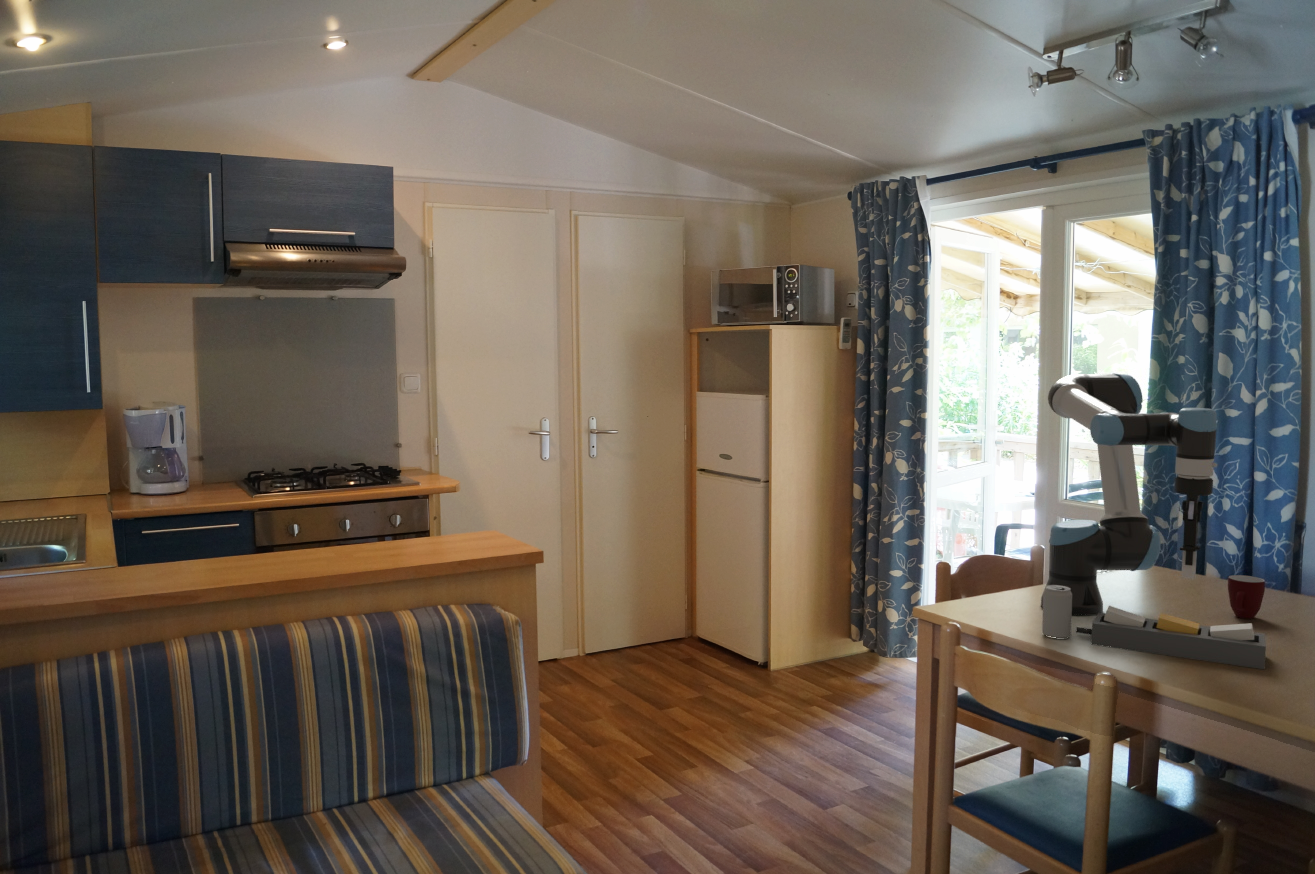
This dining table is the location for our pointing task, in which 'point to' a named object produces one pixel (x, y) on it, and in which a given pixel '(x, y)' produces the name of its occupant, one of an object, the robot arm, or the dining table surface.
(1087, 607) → the robot arm
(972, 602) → the dining table surface
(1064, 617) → the beverage can
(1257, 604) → the mug
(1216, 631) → the rocker grey right
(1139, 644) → the power strip
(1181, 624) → the rocker amber
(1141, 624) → the rocker grey left
